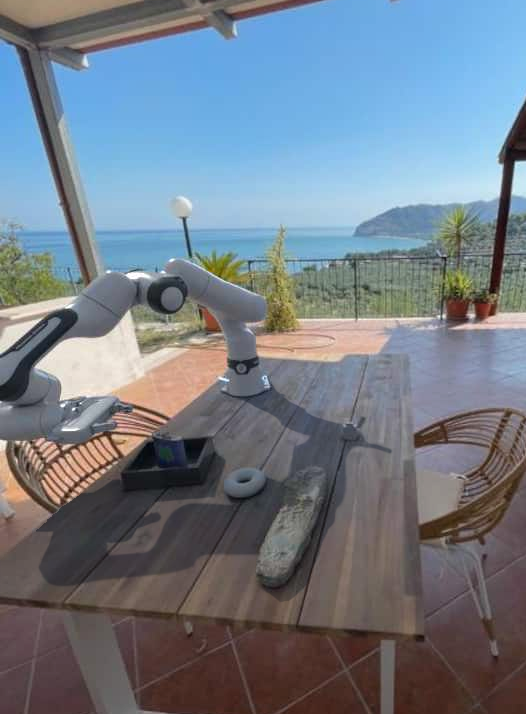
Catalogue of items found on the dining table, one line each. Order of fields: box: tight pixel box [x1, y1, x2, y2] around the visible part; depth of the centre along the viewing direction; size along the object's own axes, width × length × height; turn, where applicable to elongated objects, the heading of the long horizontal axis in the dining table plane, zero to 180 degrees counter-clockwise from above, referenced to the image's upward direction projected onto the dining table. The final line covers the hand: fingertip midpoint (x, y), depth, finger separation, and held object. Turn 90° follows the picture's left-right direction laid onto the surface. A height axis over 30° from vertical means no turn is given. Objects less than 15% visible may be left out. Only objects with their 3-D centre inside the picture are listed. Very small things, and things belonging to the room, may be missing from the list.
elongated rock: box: [255, 465, 328, 588], centre depth 84 cm, size 35×5×10 cm
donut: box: [222, 467, 266, 499], centre depth 95 cm, size 10×4×10 cm
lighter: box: [342, 413, 367, 441], centre depth 118 cm, size 7×2×8 cm, turn 87°
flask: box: [151, 428, 188, 468], centre depth 101 cm, size 9×3×11 cm, turn 71°
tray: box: [119, 435, 216, 491], centre depth 102 cm, size 16×18×5 cm
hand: (124, 416), depth 98 cm, fingers open, 8 cm apart
